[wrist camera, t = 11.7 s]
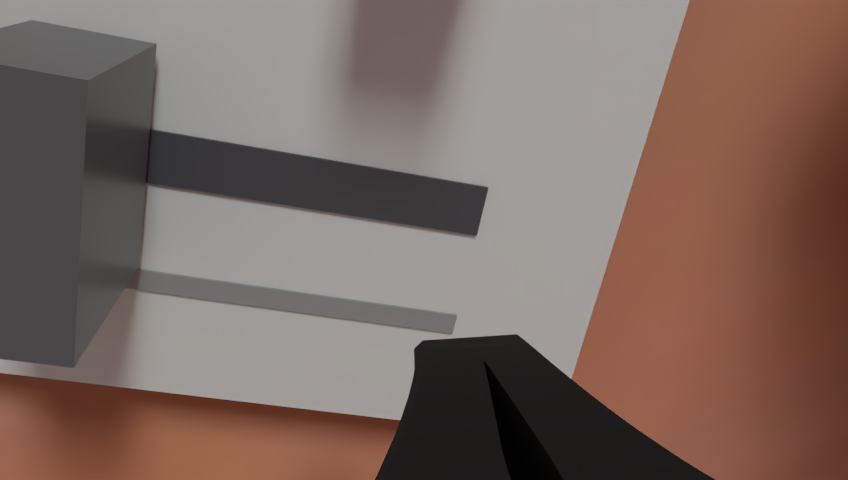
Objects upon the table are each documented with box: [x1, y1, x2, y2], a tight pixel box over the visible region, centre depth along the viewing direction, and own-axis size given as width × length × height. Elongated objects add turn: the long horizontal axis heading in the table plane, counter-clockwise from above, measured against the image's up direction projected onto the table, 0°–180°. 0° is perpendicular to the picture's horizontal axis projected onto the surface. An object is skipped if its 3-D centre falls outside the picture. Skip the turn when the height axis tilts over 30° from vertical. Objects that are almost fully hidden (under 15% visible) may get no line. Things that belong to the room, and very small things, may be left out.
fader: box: [0, 20, 157, 368], centre depth 14 cm, size 2×5×4 cm, turn 169°
